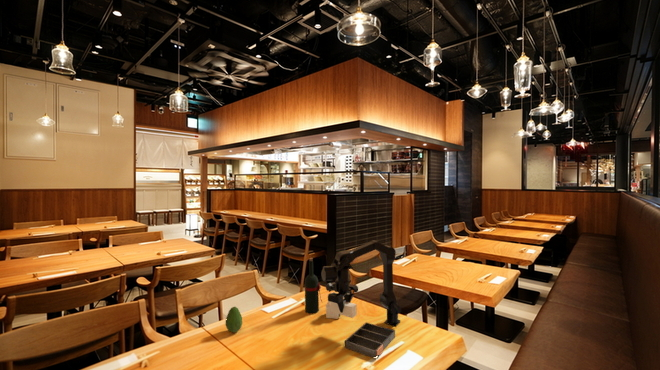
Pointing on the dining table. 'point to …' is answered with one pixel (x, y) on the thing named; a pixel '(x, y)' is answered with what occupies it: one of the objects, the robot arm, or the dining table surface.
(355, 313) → the blanking panel
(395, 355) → the dining table surface
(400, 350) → the dining table surface
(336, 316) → the medicine bottle
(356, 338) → the divided tray
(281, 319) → the dining table surface
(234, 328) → the avocado
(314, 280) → the wine bottle
